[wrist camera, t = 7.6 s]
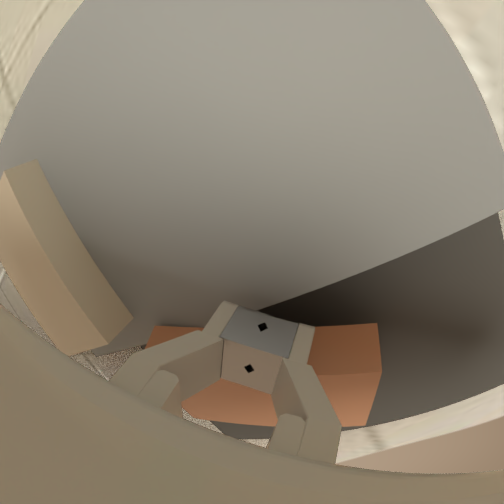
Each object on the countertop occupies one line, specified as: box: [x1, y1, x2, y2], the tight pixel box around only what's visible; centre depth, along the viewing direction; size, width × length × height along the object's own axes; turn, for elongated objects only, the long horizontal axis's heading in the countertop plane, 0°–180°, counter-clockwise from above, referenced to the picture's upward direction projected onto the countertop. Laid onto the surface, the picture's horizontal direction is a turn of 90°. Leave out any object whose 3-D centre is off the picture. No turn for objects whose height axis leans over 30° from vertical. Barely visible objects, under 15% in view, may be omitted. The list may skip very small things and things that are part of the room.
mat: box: [141, 212, 504, 439], centre depth 14 cm, size 20×11×1 cm, turn 123°
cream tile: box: [0, 159, 134, 356], centre depth 12 cm, size 9×6×2 cm, turn 33°
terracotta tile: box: [145, 323, 382, 427], centre depth 12 cm, size 9×6×2 cm, turn 101°
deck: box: [0, 0, 504, 357], centre depth 11 cm, size 22×14×2 cm, turn 123°
